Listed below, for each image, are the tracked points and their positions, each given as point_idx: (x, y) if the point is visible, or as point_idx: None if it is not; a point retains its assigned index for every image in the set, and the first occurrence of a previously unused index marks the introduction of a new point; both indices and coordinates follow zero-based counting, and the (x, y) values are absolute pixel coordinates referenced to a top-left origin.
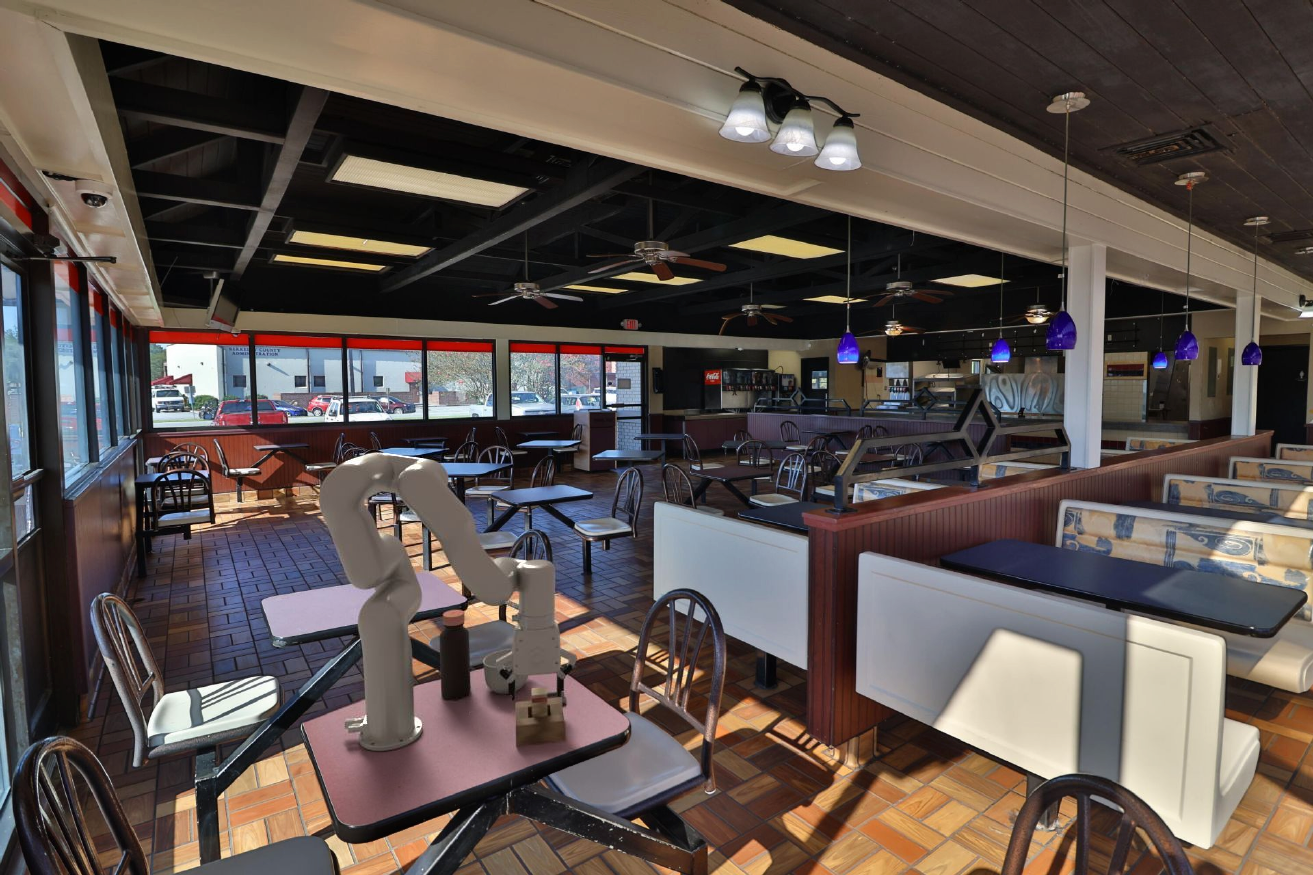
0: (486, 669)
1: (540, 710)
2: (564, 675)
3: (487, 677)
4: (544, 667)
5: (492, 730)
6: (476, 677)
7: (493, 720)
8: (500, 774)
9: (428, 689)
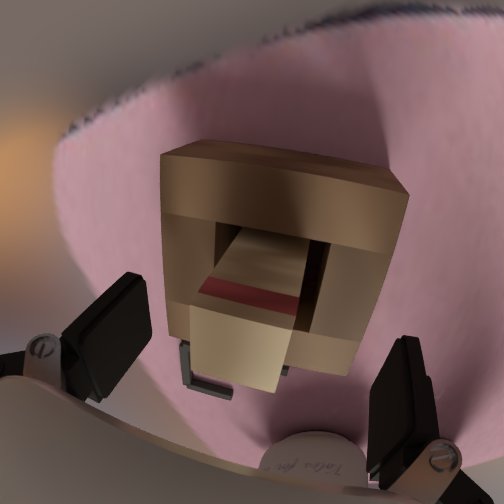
0: None
1: (260, 260)
2: (35, 348)
3: (367, 476)
4: (71, 477)
5: (430, 303)
6: None
7: None
8: (463, 25)
9: None
